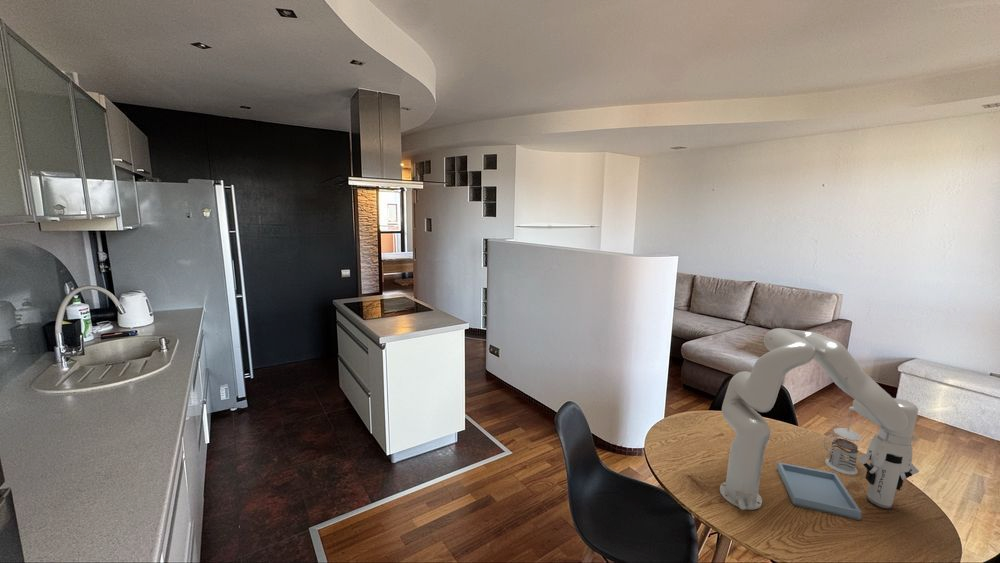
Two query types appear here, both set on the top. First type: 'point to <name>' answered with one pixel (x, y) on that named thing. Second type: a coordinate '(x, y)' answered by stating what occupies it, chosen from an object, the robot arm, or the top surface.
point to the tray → (818, 490)
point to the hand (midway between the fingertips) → (882, 484)
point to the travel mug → (885, 482)
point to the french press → (835, 459)
